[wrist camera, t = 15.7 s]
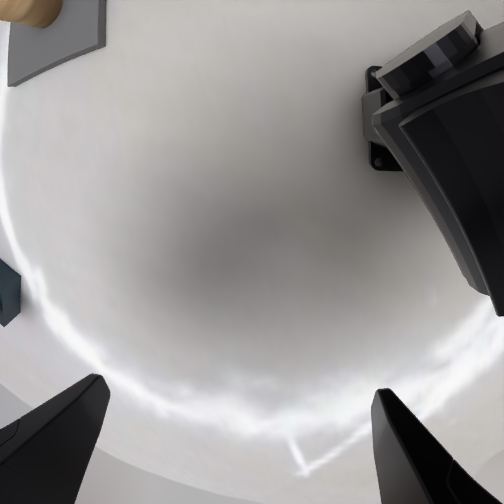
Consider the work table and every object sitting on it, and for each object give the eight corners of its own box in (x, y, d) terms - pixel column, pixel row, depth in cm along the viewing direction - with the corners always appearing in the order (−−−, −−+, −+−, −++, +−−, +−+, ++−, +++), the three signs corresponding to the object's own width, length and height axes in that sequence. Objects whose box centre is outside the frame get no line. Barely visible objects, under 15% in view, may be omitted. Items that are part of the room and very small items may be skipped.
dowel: (63, -11, 13) (4, -33, 7) (61, 19, 14) (-3, 1, 8) (36, 5, 13) (-23, -10, 7) (34, 34, 15) (-30, 24, 8)
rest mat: (110, -54, 12) (104, -59, 11) (105, 46, 16) (97, 43, 15) (21, -6, 14) (15, -8, 13) (15, 86, 17) (7, 86, 16)
